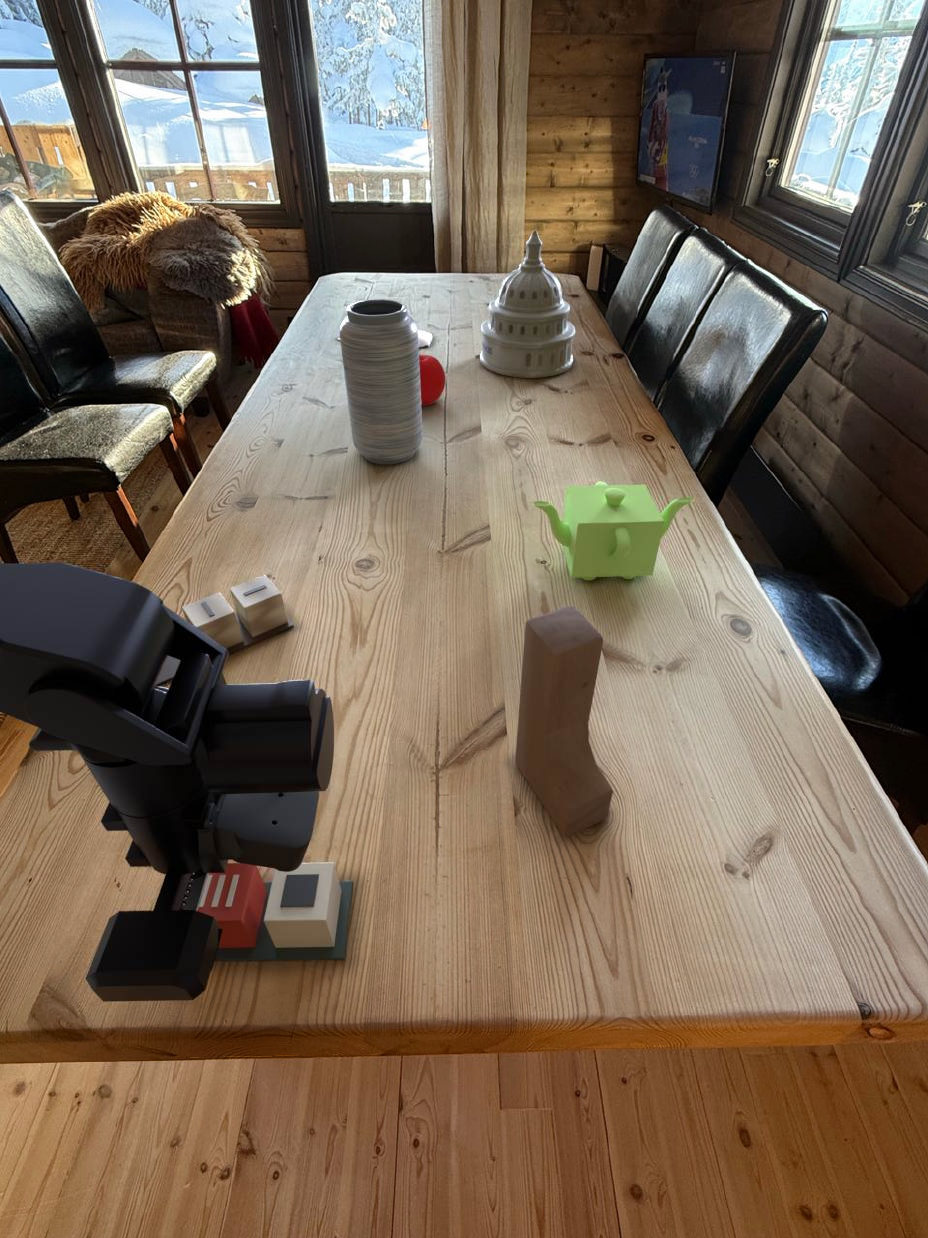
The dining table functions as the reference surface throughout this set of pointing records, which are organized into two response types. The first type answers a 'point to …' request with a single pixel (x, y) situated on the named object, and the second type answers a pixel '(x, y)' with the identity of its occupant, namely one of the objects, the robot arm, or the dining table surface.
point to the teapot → (610, 529)
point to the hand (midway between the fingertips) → (223, 901)
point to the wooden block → (561, 719)
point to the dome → (528, 322)
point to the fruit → (431, 379)
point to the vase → (382, 380)
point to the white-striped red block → (235, 903)
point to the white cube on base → (300, 918)
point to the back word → (236, 619)
